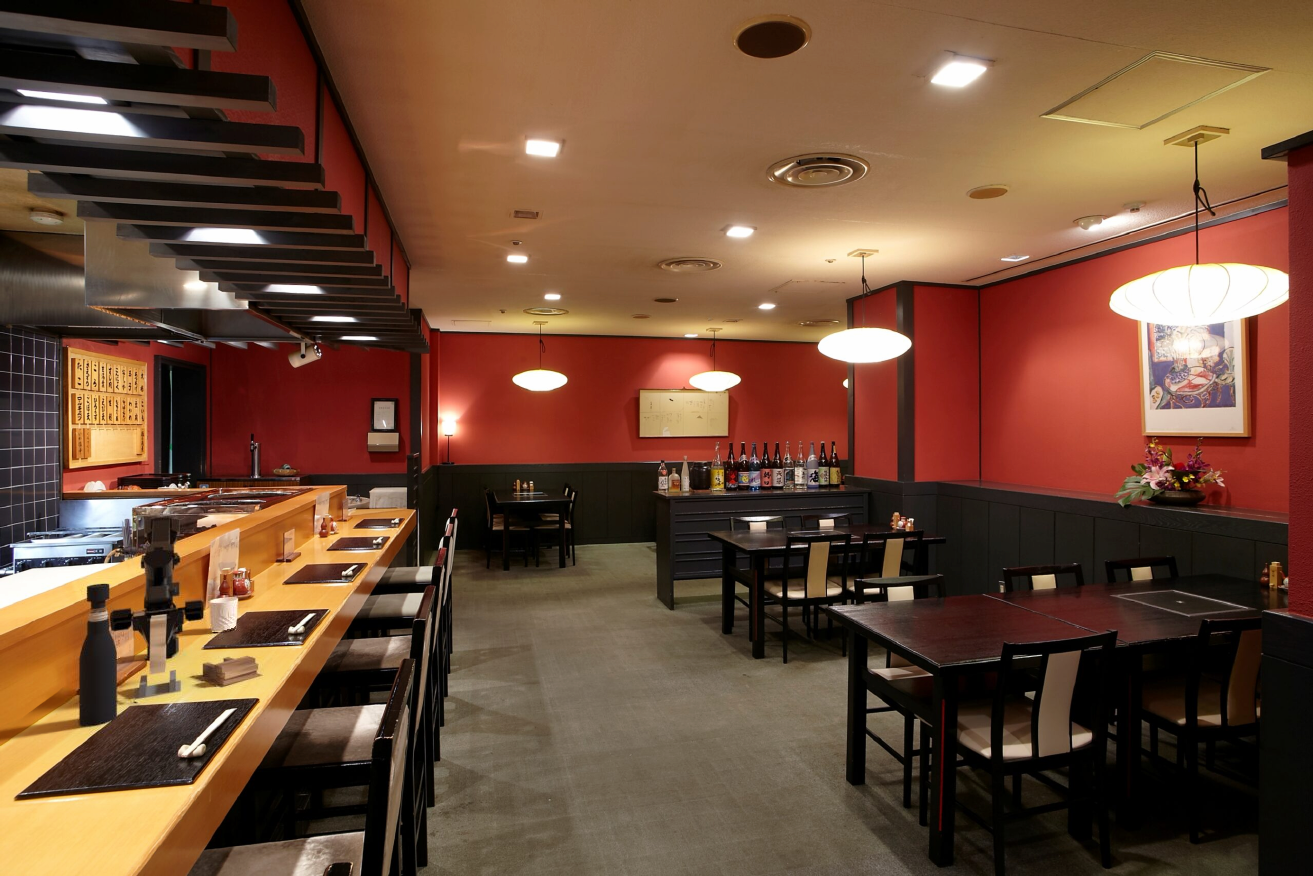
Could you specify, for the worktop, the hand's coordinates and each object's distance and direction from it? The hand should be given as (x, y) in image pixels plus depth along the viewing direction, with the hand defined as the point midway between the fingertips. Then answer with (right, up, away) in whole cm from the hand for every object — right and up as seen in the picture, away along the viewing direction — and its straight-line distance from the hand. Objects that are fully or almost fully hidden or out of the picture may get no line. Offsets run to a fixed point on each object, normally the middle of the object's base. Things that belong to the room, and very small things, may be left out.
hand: (158, 644), depth 163 cm
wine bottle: (-2, -13, -15) cm, 19 cm away
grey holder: (-1, -12, +1) cm, 12 cm away
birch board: (-1, -7, +1) cm, 7 cm away
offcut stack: (+14, -11, +8) cm, 20 cm away
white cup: (-20, -13, +56) cm, 61 cm away
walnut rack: (+11, -12, +10) cm, 19 cm away
